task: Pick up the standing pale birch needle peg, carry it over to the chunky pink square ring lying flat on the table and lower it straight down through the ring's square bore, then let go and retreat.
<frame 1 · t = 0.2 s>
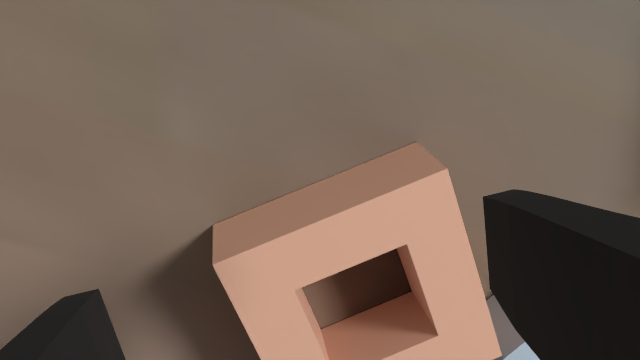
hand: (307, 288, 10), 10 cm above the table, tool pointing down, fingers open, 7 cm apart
pink square ring: (350, 270, 22), on the table
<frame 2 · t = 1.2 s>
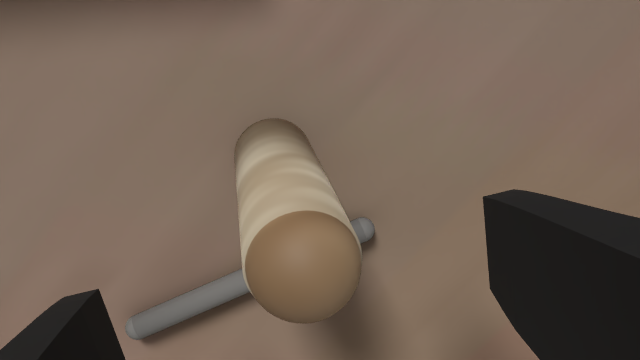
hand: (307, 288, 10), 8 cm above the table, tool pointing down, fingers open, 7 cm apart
thin grey rod: (250, 272, 19), on the table
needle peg: (273, 156, 18), on the table
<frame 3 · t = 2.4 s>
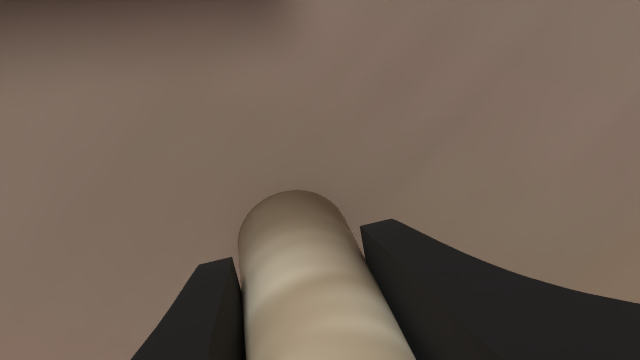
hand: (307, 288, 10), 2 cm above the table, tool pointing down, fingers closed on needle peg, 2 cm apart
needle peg: (294, 242, 12), on the table, touching gripper
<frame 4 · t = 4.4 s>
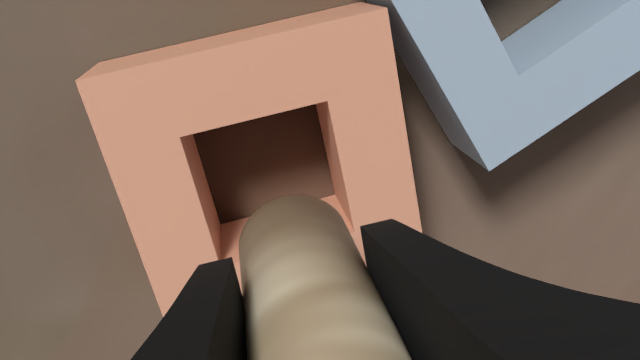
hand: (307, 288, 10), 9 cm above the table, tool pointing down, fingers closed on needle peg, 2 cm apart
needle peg: (294, 245, 12), point 7 cm above the table, touching gripper
pink square ring: (264, 154, 18), on the table
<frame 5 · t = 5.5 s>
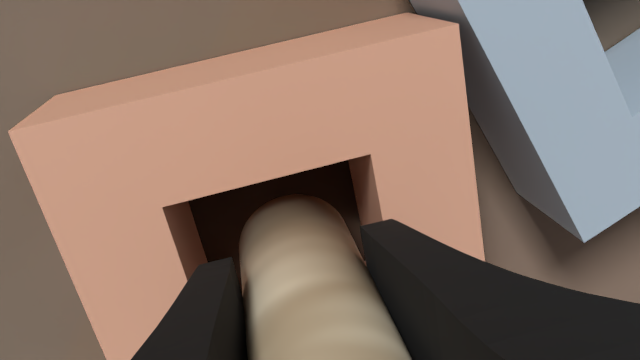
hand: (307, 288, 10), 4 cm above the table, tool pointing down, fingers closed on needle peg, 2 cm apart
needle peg: (294, 245, 12), point 2 cm above the table, touching gripper
pink square ring: (277, 212, 14), on the table
when the fingers open (4 cm above the table, at t = 6.3 s): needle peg drops 2 cm, resting in pink square ring.
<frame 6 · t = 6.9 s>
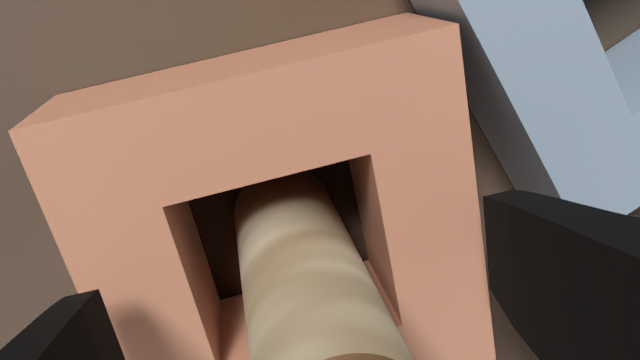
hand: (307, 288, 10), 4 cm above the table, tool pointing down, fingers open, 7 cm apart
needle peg: (282, 211, 14), resting in pink square ring
pink square ring: (277, 211, 14), on the table
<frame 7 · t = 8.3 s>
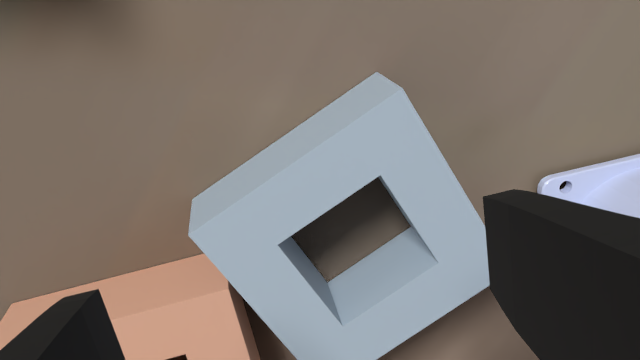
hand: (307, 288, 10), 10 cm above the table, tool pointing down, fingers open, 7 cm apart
pale blue square ring: (342, 217, 22), on the table
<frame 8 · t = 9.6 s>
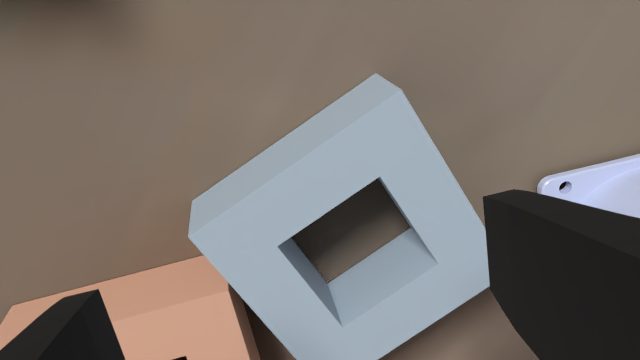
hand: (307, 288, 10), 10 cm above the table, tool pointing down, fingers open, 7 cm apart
pale blue square ring: (342, 219, 22), on the table
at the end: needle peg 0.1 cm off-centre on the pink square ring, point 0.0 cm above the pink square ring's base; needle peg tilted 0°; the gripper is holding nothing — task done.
